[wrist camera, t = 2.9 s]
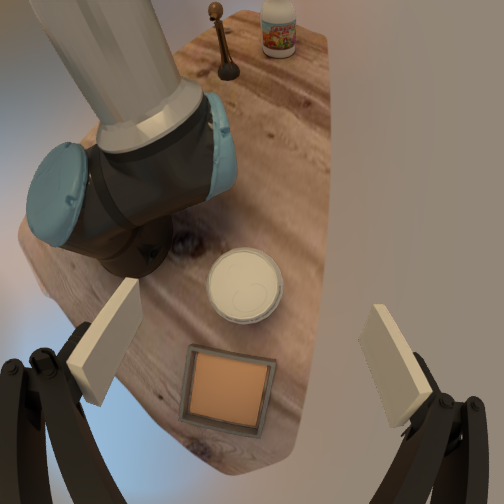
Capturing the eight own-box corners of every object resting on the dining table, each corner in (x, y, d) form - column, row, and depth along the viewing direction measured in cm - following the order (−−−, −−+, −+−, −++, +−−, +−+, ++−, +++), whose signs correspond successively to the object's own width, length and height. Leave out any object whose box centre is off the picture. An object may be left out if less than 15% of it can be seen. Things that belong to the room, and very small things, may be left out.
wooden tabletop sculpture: (237, 83, 50) (223, 9, 31) (216, 84, 51) (196, 12, 31) (240, 67, 52) (228, -4, 32) (220, 67, 52) (203, -1, 32)
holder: (261, 432, 38) (260, 438, 35) (183, 415, 39) (178, 420, 37) (276, 359, 40) (276, 362, 37) (192, 343, 41) (188, 345, 39)
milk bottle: (256, 48, 53) (249, -17, 33) (281, 39, 53) (280, -24, 33) (275, 62, 51) (273, -8, 32) (301, 52, 52) (305, -14, 32)
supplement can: (289, 302, 41) (298, 300, 27) (241, 327, 41) (224, 338, 27) (265, 255, 43) (260, 230, 28) (218, 280, 43) (189, 267, 28)
